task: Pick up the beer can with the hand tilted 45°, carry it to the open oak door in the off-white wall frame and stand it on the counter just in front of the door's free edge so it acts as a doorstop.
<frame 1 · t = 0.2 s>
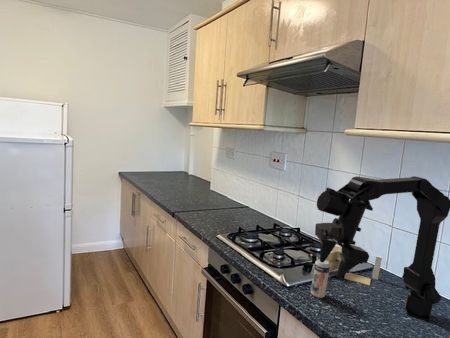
hand: (329, 269, 91), 15 cm above the table, tool pointing down, fingers open, 9 cm apart
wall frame: (417, 313, 101), on the table
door: (334, 261, 123), point 4 cm above the table, hinge at 124.0°
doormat: (357, 279, 120), on the table
beer can: (317, 295, 106), on the table
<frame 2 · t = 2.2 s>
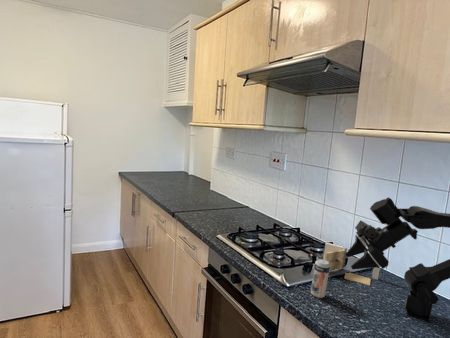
hand: (348, 261, 103), 13 cm above the table, tool tilted 45°, fingers open, 9 cm apart
nothing on the table moved.
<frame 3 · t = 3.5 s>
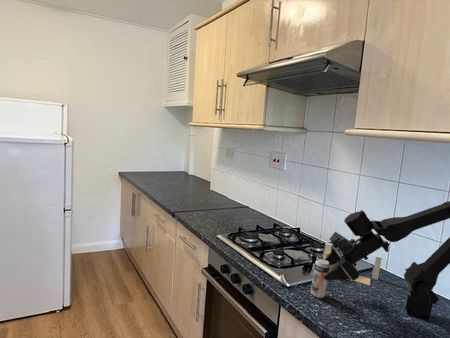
hand: (322, 272, 105), 8 cm above the table, tool tilted 45°, fingers open, 9 cm apart
nothing on the table moved.
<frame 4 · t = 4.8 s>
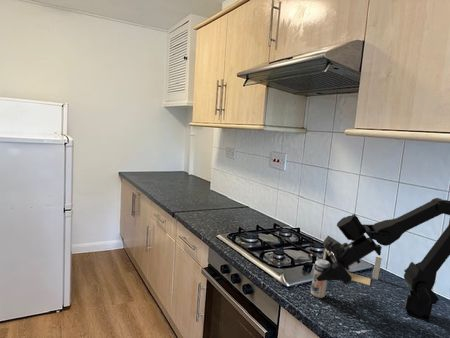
hand: (316, 275, 105), 7 cm above the table, tool tilted 45°, fingers closed on beer can, 5 cm apart
beer can: (317, 295, 106), on the table, touching gripper
everything else where it was.
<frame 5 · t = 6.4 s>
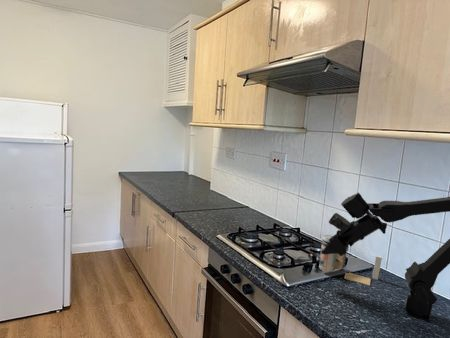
hand: (324, 250, 111), 13 cm above the table, tool tilted 45°, fingers closed on beer can, 5 cm apart
beer can: (325, 270, 111), point 6 cm above the table, touching gripper
everything else where it was.
when the fingers open (8 cm above the table, at t = 8.5 s): beer can drops 1 cm, on the table.
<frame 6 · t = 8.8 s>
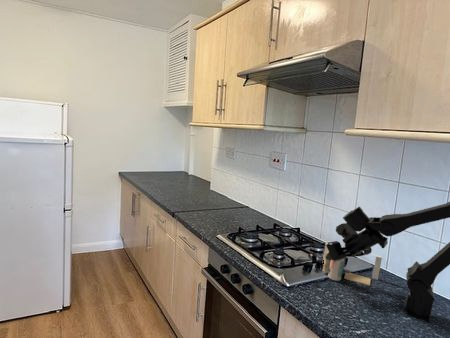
hand: (334, 256, 119), 8 cm above the table, tool tilted 45°, fingers open, 8 cm apart
beer can: (334, 278, 119), on the table
everything else where it was.
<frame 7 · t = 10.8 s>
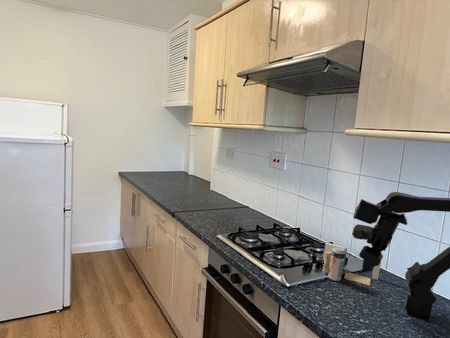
hand: (367, 264, 109), 10 cm above the table, tool tilted 20°, fingers open, 9 cm apart
nothing on the table moved.
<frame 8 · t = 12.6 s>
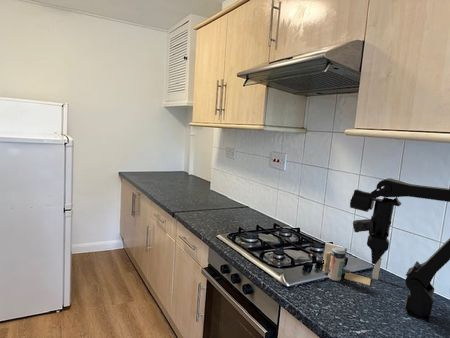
hand: (373, 258, 108), 13 cm above the table, tool pointing down, fingers open, 9 cm apart
nothing on the table moved.
at the end: beer can 0.2 cm from the target spot, on the table; beer can tilted 0°; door at +124° (first picture: +124°) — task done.
